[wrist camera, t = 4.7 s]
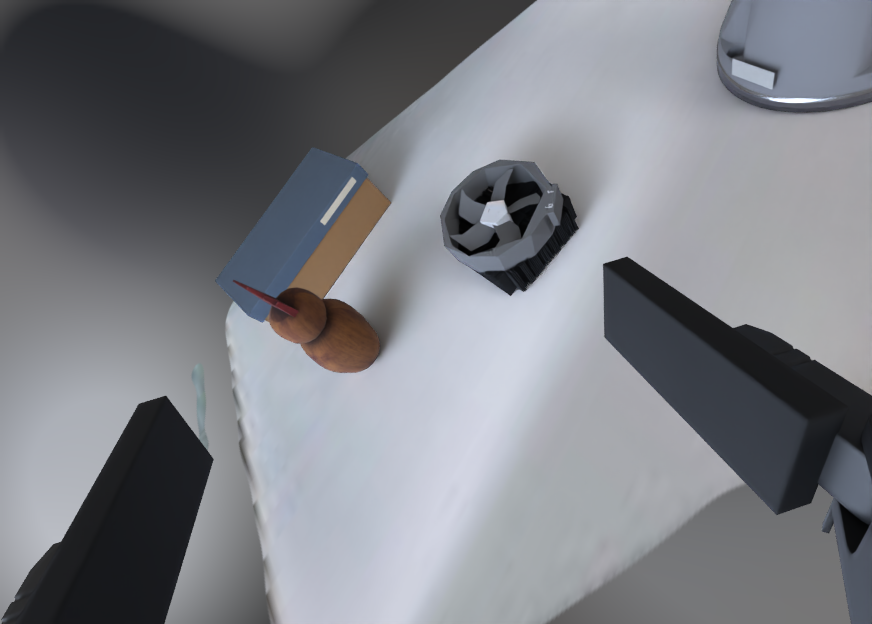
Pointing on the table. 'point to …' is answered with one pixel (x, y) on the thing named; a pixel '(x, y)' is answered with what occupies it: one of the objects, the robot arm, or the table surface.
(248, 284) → the shoebox
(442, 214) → the cpu cooler
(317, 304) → the wooden figurine
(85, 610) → the robot arm
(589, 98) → the table surface
